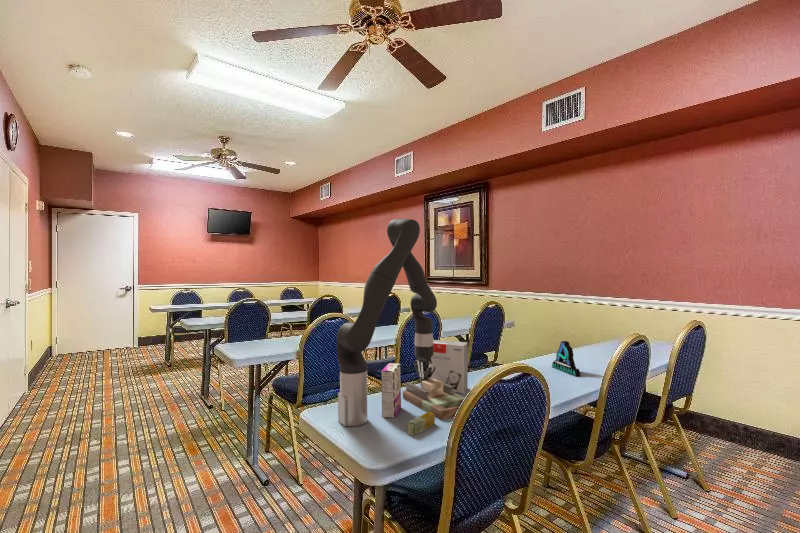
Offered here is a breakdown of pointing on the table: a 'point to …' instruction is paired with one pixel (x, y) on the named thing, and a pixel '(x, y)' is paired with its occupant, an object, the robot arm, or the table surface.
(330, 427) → the table surface
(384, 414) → the candy bar box
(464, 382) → the hard drive box
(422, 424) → the medication box
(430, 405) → the corridor deck
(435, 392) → the ash block
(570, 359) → the decorative sign
